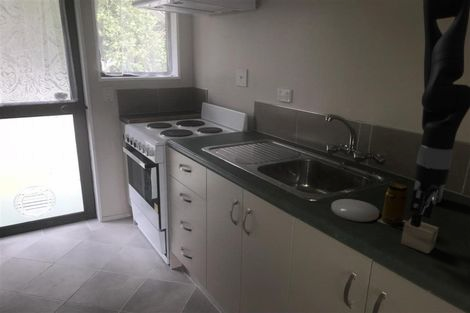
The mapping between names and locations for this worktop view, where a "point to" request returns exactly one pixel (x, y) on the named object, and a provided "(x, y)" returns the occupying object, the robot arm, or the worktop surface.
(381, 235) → the worktop surface
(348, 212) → the dish
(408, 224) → the block
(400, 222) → the condiment
